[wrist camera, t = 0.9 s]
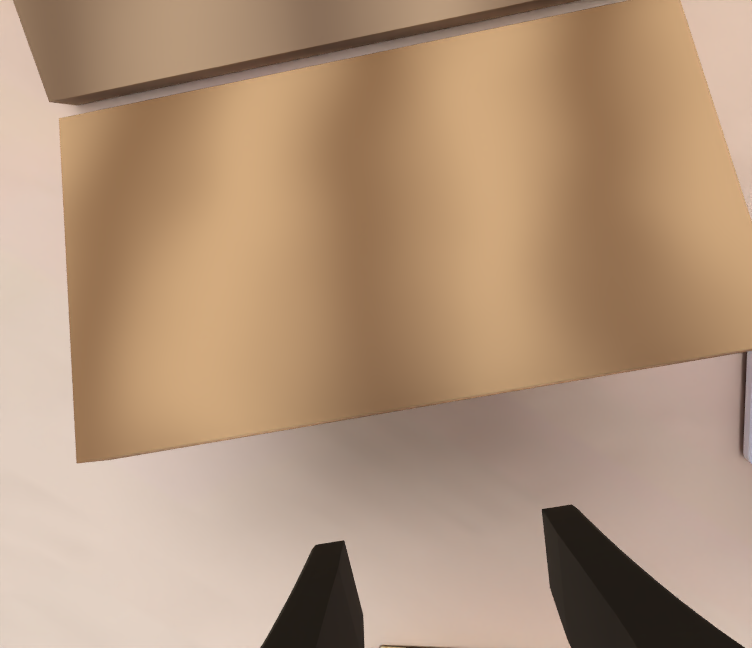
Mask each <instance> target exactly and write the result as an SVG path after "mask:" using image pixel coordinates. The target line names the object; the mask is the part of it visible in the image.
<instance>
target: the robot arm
mask: <svg viewBox="0 0 752 648" xmlns="http://www.w3.org/2000/svg"><path fill="white" fill-rule="evenodd" d="M743 454H744V457H745V458H746V460H747V461H749V462H750V463H751V464H752V351H748V352H747V371H746V397H745V423H744V449H743ZM542 516H543V525H544V535H545V544H546V554H547V563H548V573H549V582H550V589H551V592H552V595H553V598H554V601H555V604H556V607H557V610H558V613H559V616H560V619H561V622H562V625H563V628H564V631H565V634H566V636H567V639H568V641H569V644H570V646H571V648H745V647H743V646H742V645H740V644H739V643H737V642H736V641H734V640H733V639H731V638H730V637H729V636H727V635H726V634H724V633H723V632H722V631H720V630H719V629H718V628H716V627H715V626H713V625H712V624H711V623H709V622H708V621H707V620H705V619H704V618H703V617H701V616H700V615H699V614H697V613H696V612H695V611H693V610H692V609H691V608H690V607H688V606H687V605H686V604H684V603H683V602H682V601H681V600H679V599H678V598H677V597H675V596H674V595H673V594H672V593H671V592H669V591H668V590H667V589H666V588H664V587H663V586H662V585H661V584H659V583H658V582H657V581H656V580H655V579H654V578H652V577H651V576H650V575H649V574H648V573H647V572H645V571H644V570H643V569H642V568H641V567H640V566H638V565H637V564H636V563H635V562H634V561H633V560H631V559H630V558H629V557H628V556H627V555H626V554H625V553H624V552H622V551H621V550H620V549H619V548H618V547H617V546H616V545H615V544H614V543H613V542H612V541H610V540H609V539H608V538H607V537H606V536H605V535H604V534H603V533H602V532H601V531H600V530H599V529H598V528H597V527H596V526H595V525H594V524H593V523H592V522H590V521H589V520H588V519H587V518H586V517H585V516H584V515H583V514H582V513H581V512H580V511H579V510H578V509H577V508H576V507H575V506H573V505H566V506H560V507H553V508H547V509H542ZM261 648H364V625H363V613H362V609H361V605H360V601H359V597H358V593H357V589H356V585H355V581H354V577H353V573H352V569H351V565H350V561H349V557H348V554H347V550H346V546H345V542H344V541H337V542H331V543H325V544H318V545H315V547H314V548H313V549H312V551H311V553H310V555H309V557H308V559H307V561H306V563H305V566H304V568H303V570H302V572H301V574H300V576H299V578H298V580H297V582H296V584H295V586H294V588H293V590H292V592H291V594H290V596H289V598H288V600H287V602H286V603H285V605H284V607H283V609H282V611H281V613H280V614H279V616H278V618H277V620H276V622H275V623H274V625H273V627H272V629H271V631H270V633H269V634H268V636H267V638H266V639H265V641H264V643H263V644H262V646H261Z"/></svg>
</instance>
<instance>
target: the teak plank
mask: <svg viewBox="0 0 752 648" xmlns="http://www.w3.org/2000/svg"><path fill="white" fill-rule="evenodd" d="M59 129H60V148H61V168H62V187H63V207H64V226H65V246H66V265H67V284H68V304H69V323H70V343H71V362H72V382H73V401H74V421H75V440H76V460H77V463H85V462H95V461H104V460H112V459H118V458H124V457H130V456H135V455H141V454H147V453H153V452H159V451H165V450H171V449H177V448H183V447H188V446H194V445H200V444H206V443H212V442H218V441H224V440H230V439H235V438H241V437H247V436H253V435H259V434H265V433H271V432H277V431H283V430H288V429H294V428H300V427H306V426H312V425H318V424H324V423H330V422H336V421H341V420H347V419H353V418H359V417H365V416H371V415H377V414H383V413H389V412H394V411H400V410H406V409H412V408H418V407H424V406H430V405H436V404H441V403H447V402H453V401H459V400H465V399H471V398H477V397H483V396H489V395H494V394H500V393H506V392H512V391H518V390H524V389H530V388H536V387H542V386H547V385H553V384H559V383H565V382H571V381H577V380H583V379H589V378H595V377H600V376H606V375H612V374H618V373H624V372H630V371H636V370H642V369H647V368H653V367H659V366H665V365H671V364H677V363H683V362H689V361H695V360H700V359H706V358H712V357H718V356H724V355H730V354H736V353H742V352H748V351H752V221H751V218H750V215H749V212H748V209H747V206H746V202H745V199H744V196H743V193H742V190H741V187H740V184H739V181H738V178H737V175H736V172H735V168H734V165H733V162H732V159H731V156H730V153H729V150H728V147H727V144H726V141H725V138H724V134H723V131H722V128H721V125H720V122H719V119H718V116H717V113H716V110H715V107H714V104H713V100H712V97H711V94H710V91H709V88H708V85H707V82H706V79H705V76H704V73H703V69H702V66H701V63H700V60H699V57H698V54H697V51H696V48H695V45H694V42H693V39H692V35H691V32H690V29H689V26H688V23H687V20H686V17H685V14H684V11H683V8H682V5H681V1H680V0H628V1H624V2H619V3H614V4H609V5H604V6H599V7H595V8H590V9H585V10H580V11H575V12H571V13H566V14H561V15H556V16H551V17H546V18H542V19H537V20H532V21H527V22H522V23H518V24H513V25H508V26H503V27H498V28H493V29H489V30H484V31H479V32H474V33H469V34H464V35H460V36H455V37H450V38H445V39H440V40H436V41H431V42H426V43H421V44H416V45H411V46H407V47H402V48H397V49H392V50H387V51H382V52H378V53H373V54H368V55H363V56H358V57H354V58H349V59H344V60H339V61H334V62H329V63H325V64H320V65H315V66H310V67H305V68H301V69H296V70H291V71H286V72H281V73H276V74H272V75H267V76H262V77H257V78H252V79H247V80H243V81H238V82H233V83H228V84H223V85H219V86H214V87H209V88H204V89H199V90H194V91H190V92H185V93H180V94H175V95H170V96H165V97H161V98H156V99H151V100H146V101H141V102H137V103H132V104H127V105H122V106H117V107H112V108H108V109H103V110H98V111H93V112H88V113H84V114H79V115H74V116H69V117H64V118H59Z"/></svg>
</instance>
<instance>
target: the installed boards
mask: <svg viewBox="0 0 752 648" xmlns="http://www.w3.org/2000/svg"><path fill="white" fill-rule="evenodd" d="M13 1H14V4H15V7H16V10H17V13H18V15H19V18H20V21H21V24H22V27H23V29H24V32H25V35H26V38H27V41H28V43H29V46H30V49H31V52H32V55H33V57H34V60H35V63H36V66H37V69H38V71H39V74H40V77H41V80H42V83H43V86H44V88H45V91H46V94H47V97H48V100H49V102H54V103H62V104H71V105H80V104H85V103H89V102H94V101H99V100H104V99H109V98H113V97H118V96H123V95H128V94H133V93H137V92H142V91H147V90H152V89H157V88H161V87H166V86H171V85H176V84H181V83H185V82H190V81H195V80H200V79H204V78H209V77H214V76H219V75H224V74H228V73H233V72H238V71H243V70H248V69H252V68H257V67H262V66H267V65H272V64H276V63H281V62H286V61H291V60H296V59H300V58H305V57H310V56H315V55H320V54H324V53H329V52H334V51H339V50H344V49H348V48H353V47H358V46H363V45H368V44H372V43H377V42H382V41H387V40H392V39H396V38H401V37H406V36H411V35H416V34H420V33H425V32H430V31H435V30H440V29H444V28H449V27H454V26H459V25H464V24H468V23H473V22H478V21H483V20H488V19H492V18H497V17H502V16H507V15H512V14H516V13H521V12H526V11H531V10H536V9H540V8H545V7H550V6H555V5H560V4H564V3H569V2H574V1H579V0H13Z"/></svg>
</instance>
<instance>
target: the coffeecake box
mask: <svg viewBox="0 0 752 648" xmlns="http://www.w3.org/2000/svg"><path fill="white" fill-rule="evenodd" d="M380 648H404V647H387V646H381V647H380Z"/></svg>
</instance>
